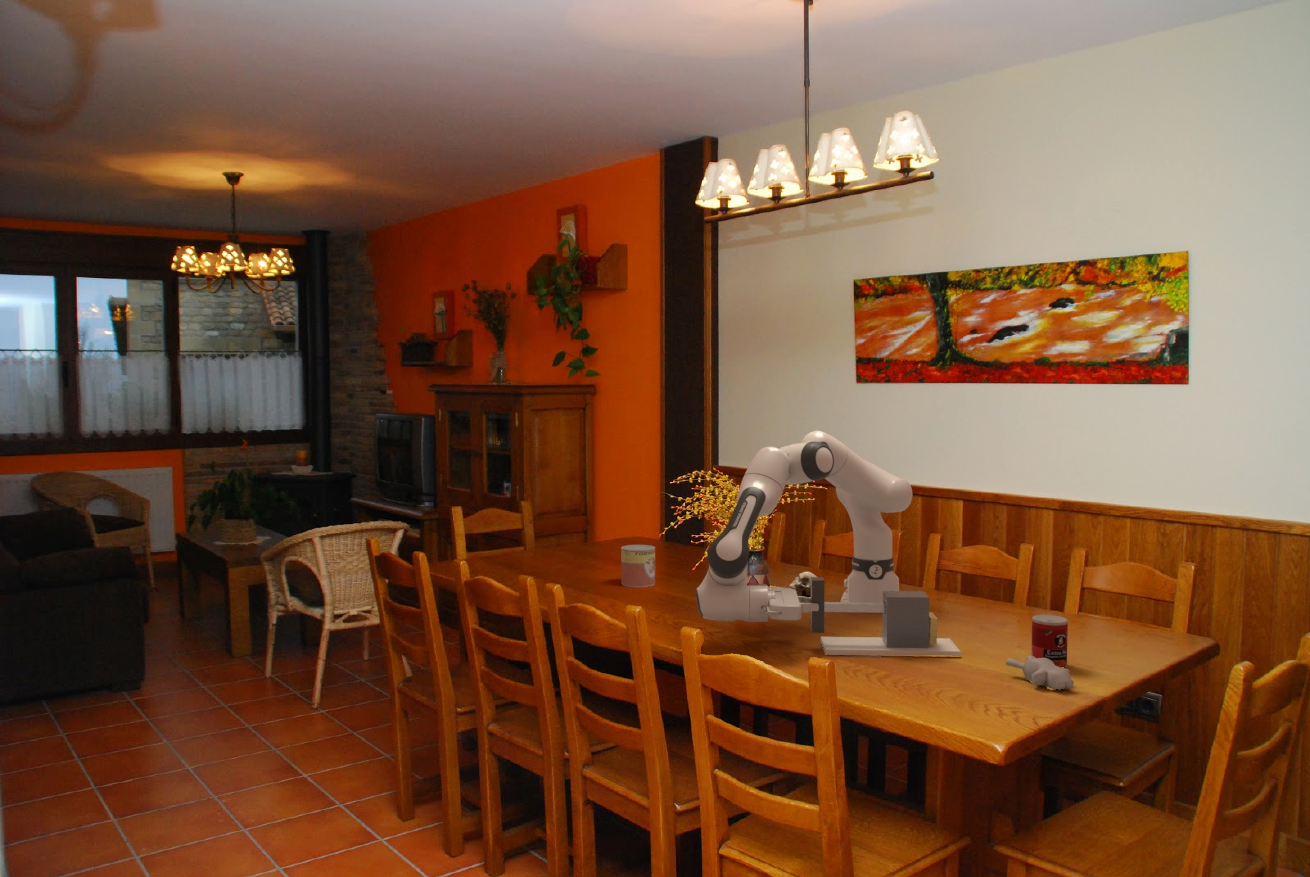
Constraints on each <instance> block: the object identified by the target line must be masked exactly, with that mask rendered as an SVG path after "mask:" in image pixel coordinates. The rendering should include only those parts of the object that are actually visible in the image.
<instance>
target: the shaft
mask: <svg viewBox="0 0 1310 877" xmlns="http://www.w3.org/2000/svg"><path fill="white" fill-rule="evenodd" d="M811 603H818V605H819V610H818V611H810V631H811V633H813V634H825V613H876V614H877V613H878V614H879V613H882V614H883V613H886V603H864V602H840V601H825V578H824V577H822V576H817V577H811Z"/></svg>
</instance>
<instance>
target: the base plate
mask: <svg viewBox="0 0 1310 877" xmlns="http://www.w3.org/2000/svg"><path fill="white" fill-rule="evenodd" d="M821 644H822V645H821ZM820 645H821V647H823V648H822V650H824V651H823V653H825V654H824V656H825V655H828V654H829V655H831V654H832V655H948V656H949V655H952V656H961V654H962V652H961V649H959V647H957V645H956V644H955V643H954V642H953V640H952V639H951V638H948V637H947V638H944V637H942V638H940V637H938V638H937V645H932V644H929V648H887V647H886V646H885V644H884V642H883V640H882V637H879V636H878V637H877V636H876V637H874V636H873V637H872V636H870V637H869V636H867V637H865V636H820ZM961 657H962V656H961Z"/></svg>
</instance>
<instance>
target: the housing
mask: <svg viewBox="0 0 1310 877" xmlns="http://www.w3.org/2000/svg"><path fill="white" fill-rule="evenodd" d="M883 603H886V613H882V626H881V627H882V631H881V632H882V635H881V636H882V640H883V642H884V644H885V646H886V647H887V648H929V612H930V596H928V594H927V593H926V592H925V591H922V590H920V591H914V590H910V591H909V590H908V591H907V590H899V591H883Z"/></svg>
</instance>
